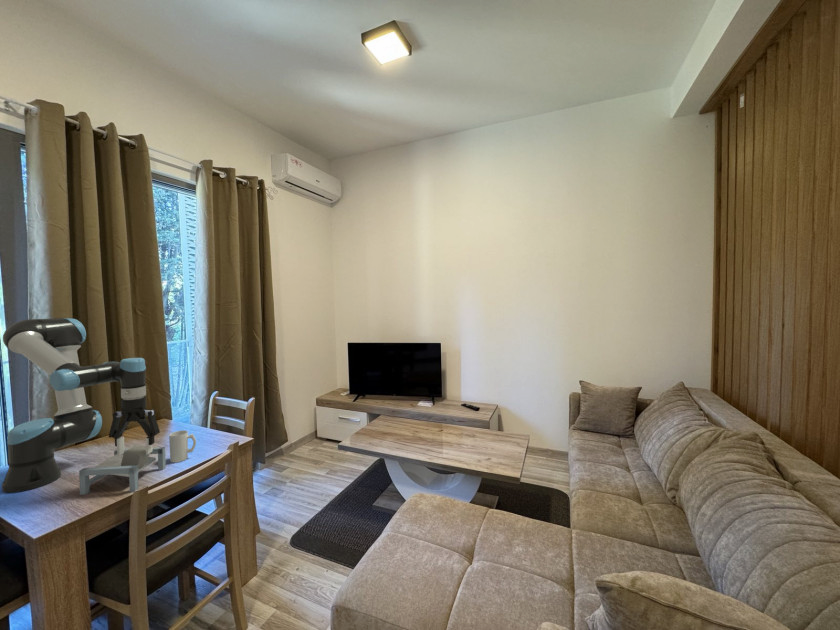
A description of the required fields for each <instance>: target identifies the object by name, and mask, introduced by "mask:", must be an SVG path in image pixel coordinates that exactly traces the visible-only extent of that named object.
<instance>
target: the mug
mask: <svg viewBox="0 0 840 630" xmlns="http://www.w3.org/2000/svg"><path fill="white" fill-rule="evenodd" d="M168 439H169V443H168V444H169V458H170V459H169V460H170V461H169V462H171V463H181V462H183V461H184V462H185V460H187V459H188V454H189V453H192V452H194V449H195V448H196V444H197V439H196V436H195V435H194V433H191V434H189V433H188V430H177V431H173V432H171V433H169V437H168ZM188 439H191V440H192V443H193V444H192V446H191V448H189V446H188V445H189V444H188V441H189V440H188Z"/></svg>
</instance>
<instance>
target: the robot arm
mask: <svg viewBox="0 0 840 630" xmlns="http://www.w3.org/2000/svg"><path fill="white" fill-rule="evenodd" d="M2 335H3V336H2V341H3V342H2V343H3V344H4V346H5V347H6V348H7V349H8V350H10V351H11V352H13V353H14V354H18V355H19V354H20V355H22V356H23V357H25V358H26V359H27V360H29V361H30V362H32V363H33V364H35V365H36V366H37V367H38V368H40V369H41V370H42V371H44V372H45V373H47V375H50V377H49V383H50V385H51V388H52V389H53V390H54V395H55V400H56V404H57V405H56V406H57V412H55V414H53V418H54V419H53V418H51V417H42V418H39V419H32V420H28V421H26V422H23V423H20V424H18V425H16V426H14V427H13V428H11V429H10V430H9V431H8V435H7V441H6V443H7V453H8V454H7V456H8V457H7V458H8V469H7V471H6V473H5V477H4V480H3V481H2V484H1V491H2V492H3V493H19V492H25V491H30V490H32V489H37V488H40V487H43V486H46V485H49V484H51V483H52V482H54V481H57V480H58V479H59V478H60V477H61V476H62V469H61V467H59V464H58V463H57V460H56V458H55V450H56V449H61V448H64V447H67V446H69V445H73V444H76V443H77V444H78V443H80V442H84V441H86V440H89V439H92V438H94V437H96V436H97V435H98V434H99V432H100V431H101V429H102V425H103V418H102V415H101V413H100V411H99V410H94V408H93V406H91V405H89V404H87V398H86V393H85V387H86V388H87V387H91V386H96V385H103V384H108V383H112V382H119V383H120V397H121V400H120V407H121V408H120V409H121V411H120V410H117V411H115V412H113V413H112V422H111V425H110V430H109V432H108V438H112V439H114V447H115V448H116V450H117V456H120V455H121V454H123V453H124V449H125V436H123V434H124V433H125V431H126V429H127V427H128V425H129V423H130V422H131V423H132V422H137V424H138V425H140V427H141V428H142V429H143V431H144V433H145V434H146V437H145V447H146V454H149V453H151V452H152V451H153V449H152V448H153V445H154V444H155V436H156V435H158V434H160V433H161V430H160V428H159V423H158V421H157V417H156V410H155V409H152V410H150V409H149V410H148V409H147V408H146V407H147V384H146V383H147V382H146V381H147V380H146V379H147V377H146V376H147V375H146V374H147V372H146V371H147V370H146V369H147V366H146V360H145V358H143V357H129V358H124V359H121V360H120V362H119V361H107V362H103V363H101V364H95V365H94V364H93V365H92V364H91V365H86V366H82V365H80V362H79V361H80V360H79V355H78V350H79V349H80V348H82V343H84V342H85V341H86V338H87V332H86V328H85V326H84V325H83V323H82V322H81V321H79V320H78V319H76V318H69V317H68V318H67V317H61V318H60V317H58V318H57V317H56V318H39V319H38V318H33V319H32V318H29V319H28V318H27V319H22V320H19V321H16V322H14V323H12V324H11V325H9V326H8V327H7V328H6V330H5V331H4V332H3V334H2ZM122 417H123V419H122ZM121 419H122V421H121ZM120 423H121V424H120ZM149 455H150V454H149Z"/></svg>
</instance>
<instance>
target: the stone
mask: <svg viewBox="0 0 840 630" xmlns="http://www.w3.org/2000/svg"><path fill="white" fill-rule="evenodd" d="M127 449H128V450H127V451H125V452H124V454H123V458H122V462H121V466H135V465H138V469H139V468H140V467H142V466H143V465H145V464H146V463H148V459H149V457H150V455H151V454H150V453H149V454H146V446H140V445H134V446H132V447H130V448H127Z"/></svg>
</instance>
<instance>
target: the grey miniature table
mask: <svg viewBox="0 0 840 630" xmlns="http://www.w3.org/2000/svg"><path fill="white" fill-rule="evenodd" d="M128 449H129V448H124V452H125V451H127V450H128ZM152 449H153V451H152V452H151V453H150V454H149V455H157V462H158V465H157V468H158V471H163V470H165V469H166V446H160V447H159V446H158V447H152ZM113 453H114V455H116V454H117V449H115V450H114V451H113ZM114 455H113V456H114ZM125 473H129V477H128V478H129V479H128V481H129V483H128V484H129V492H131V493H132V492H133V493H134V492H136V491H137V489H138V490H139V472H138V465H135V466H117V467H99V468H93V467H84V468H82V469H79V473H78V477H79V481H78V482H79V495H80V496H83V495H84V496H85V495H87V494H88V493H90V486H91V485H93V484H94V483H96V482H98V481H99V480H101V479H102V478H104V477H106V476H107V475H112V474H125ZM90 476H92V477H91V478H90ZM135 490H136V491H135Z"/></svg>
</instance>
